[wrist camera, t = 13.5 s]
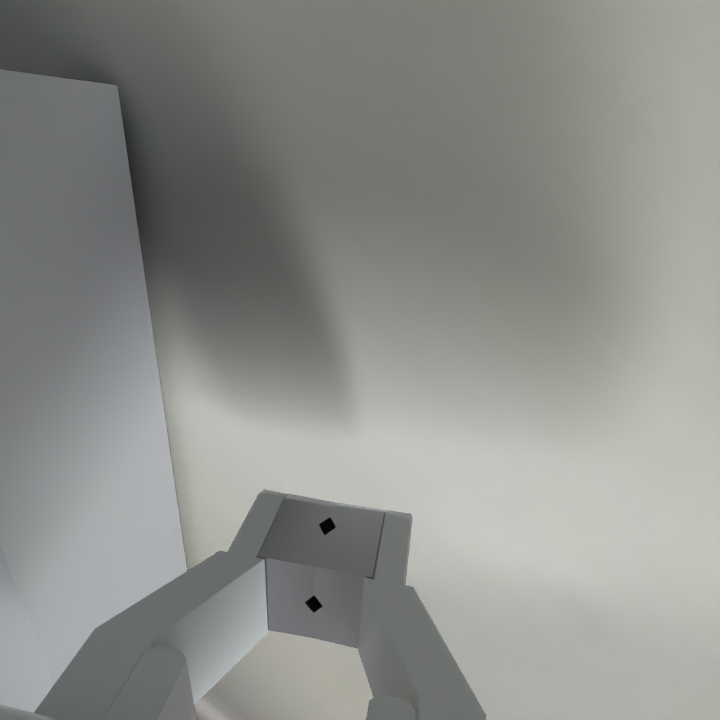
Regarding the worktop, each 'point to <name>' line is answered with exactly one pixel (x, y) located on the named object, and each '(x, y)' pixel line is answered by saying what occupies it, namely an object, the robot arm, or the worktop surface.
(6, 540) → the tray
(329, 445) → the worktop surface
